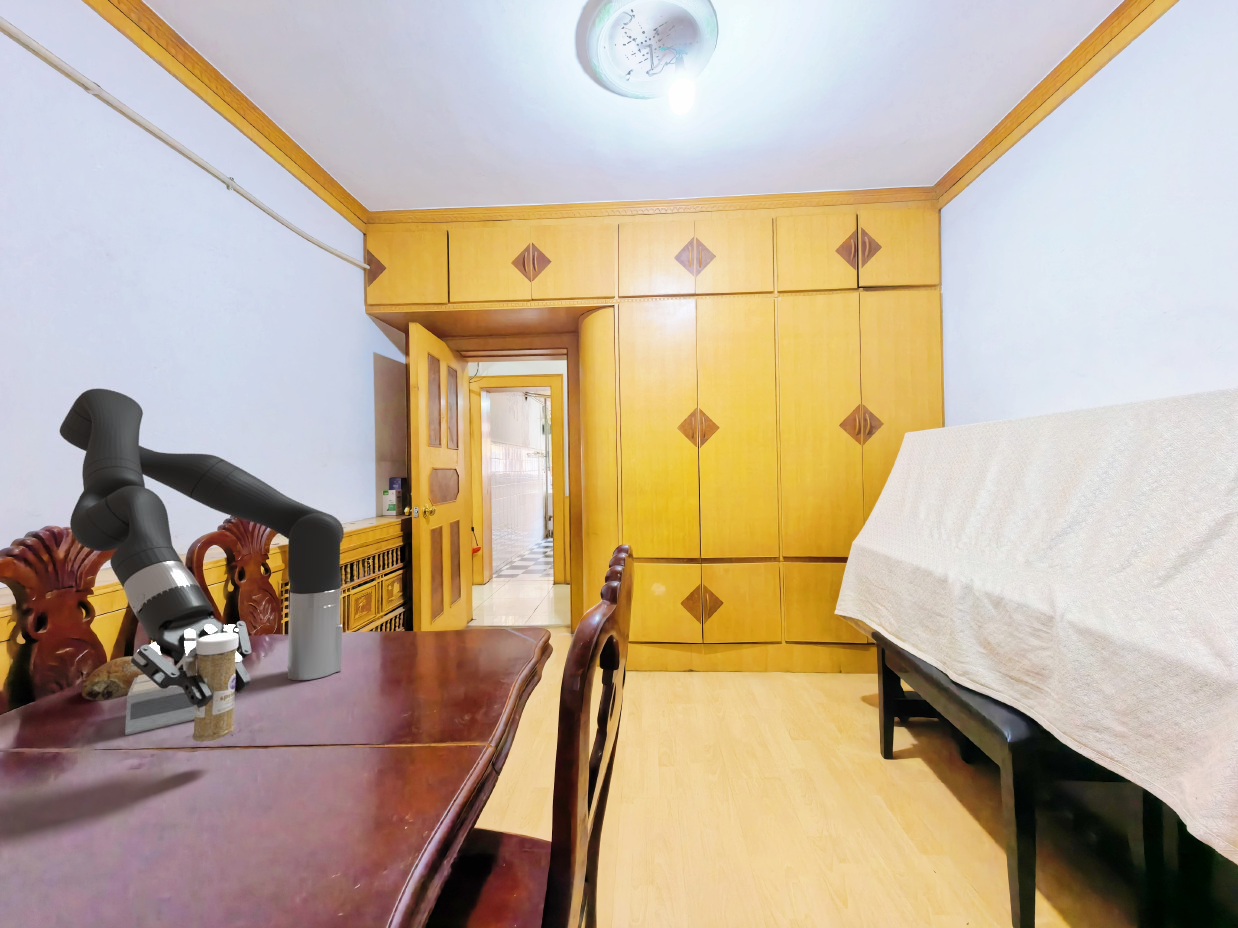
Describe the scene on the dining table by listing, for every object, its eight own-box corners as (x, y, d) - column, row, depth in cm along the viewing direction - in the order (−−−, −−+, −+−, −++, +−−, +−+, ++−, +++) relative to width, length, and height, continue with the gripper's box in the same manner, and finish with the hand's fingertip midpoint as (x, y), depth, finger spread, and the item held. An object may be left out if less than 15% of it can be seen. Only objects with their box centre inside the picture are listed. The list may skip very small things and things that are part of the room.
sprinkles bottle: (232, 737, 68) (237, 637, 69) (188, 746, 65) (194, 642, 66) (235, 723, 72) (240, 629, 72) (194, 731, 69) (200, 634, 70)
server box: (222, 694, 93) (223, 659, 93) (223, 713, 85) (224, 675, 85) (133, 713, 85) (134, 675, 86) (124, 736, 77) (126, 694, 78)
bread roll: (155, 706, 97) (177, 662, 100) (93, 702, 88) (120, 655, 92) (124, 699, 100) (146, 657, 104) (61, 695, 91) (88, 649, 95)
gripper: (207, 606, 80) (260, 692, 76) (92, 630, 66) (149, 737, 62) (233, 575, 79) (289, 661, 74) (121, 592, 65) (181, 699, 61)
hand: (225, 695), depth 68 cm, fingers closed on sprinkles bottle, 4 cm apart
